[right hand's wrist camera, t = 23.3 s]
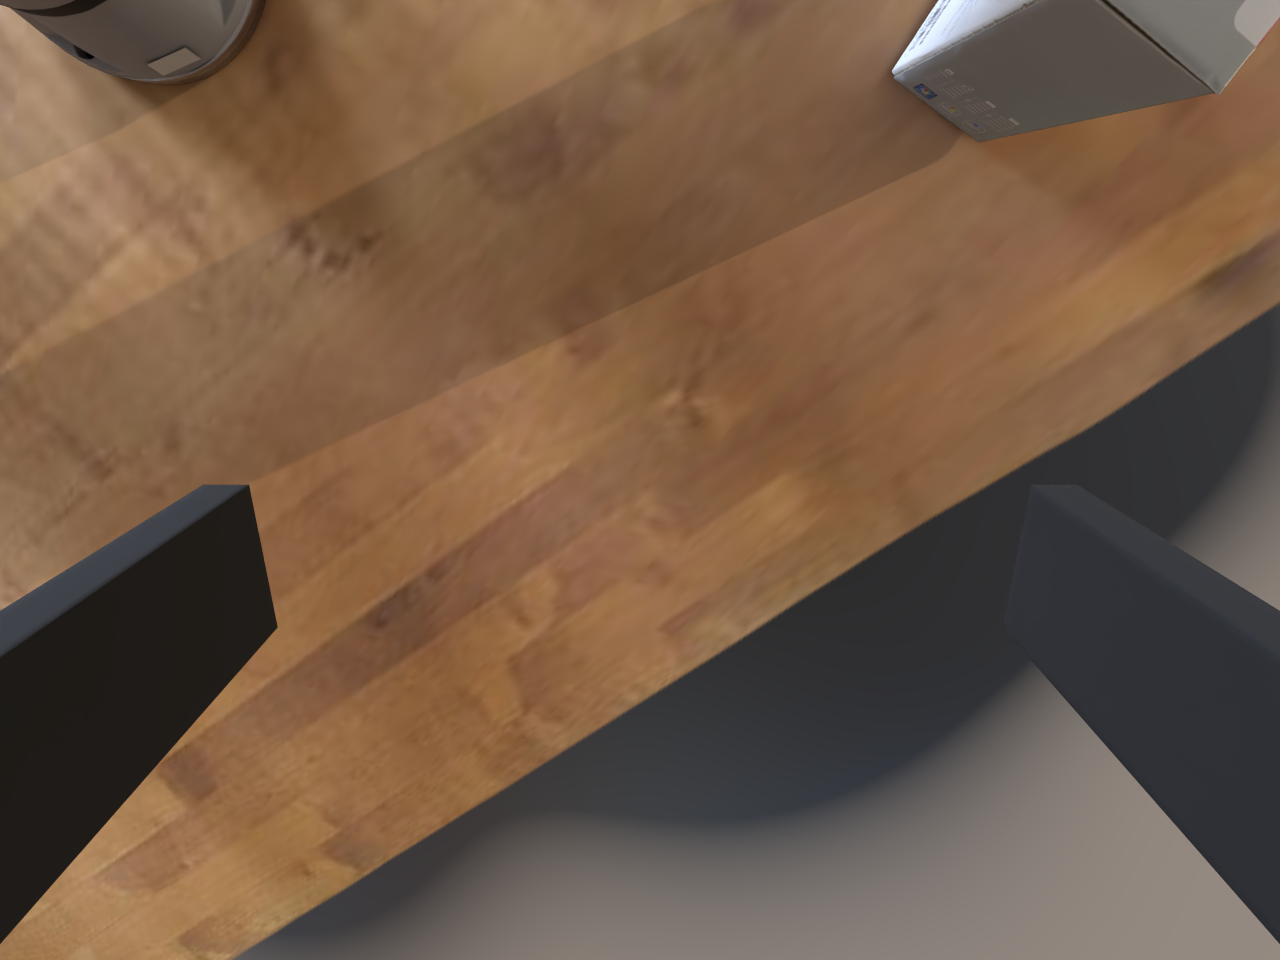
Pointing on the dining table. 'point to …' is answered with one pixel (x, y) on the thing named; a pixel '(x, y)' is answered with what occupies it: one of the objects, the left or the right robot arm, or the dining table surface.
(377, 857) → the dining table surface
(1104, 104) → the hard drive box
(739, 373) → the dining table surface
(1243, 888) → the right robot arm
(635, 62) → the dining table surface
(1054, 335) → the dining table surface
